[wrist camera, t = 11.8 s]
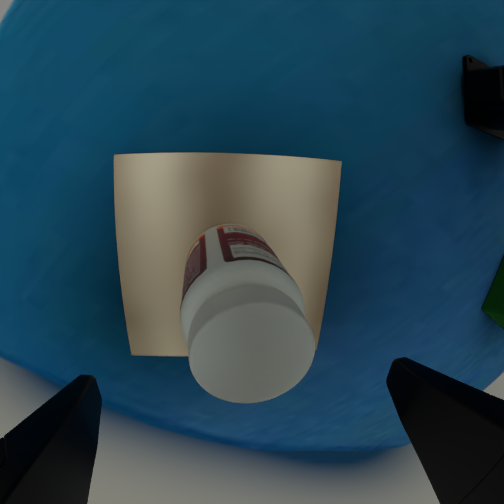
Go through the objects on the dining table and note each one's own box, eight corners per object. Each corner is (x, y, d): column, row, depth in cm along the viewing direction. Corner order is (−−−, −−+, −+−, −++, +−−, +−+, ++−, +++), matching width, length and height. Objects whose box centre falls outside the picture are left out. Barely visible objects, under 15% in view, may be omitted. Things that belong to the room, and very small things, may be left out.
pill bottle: (212, 316, 18) (224, 428, 10) (169, 248, 16) (144, 337, 8) (286, 279, 18) (344, 373, 10) (249, 205, 16) (294, 261, 8)
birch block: (322, 158, 19) (341, 161, 16) (303, 326, 23) (316, 349, 20) (127, 153, 17) (114, 154, 14) (138, 330, 21) (131, 355, 18)
